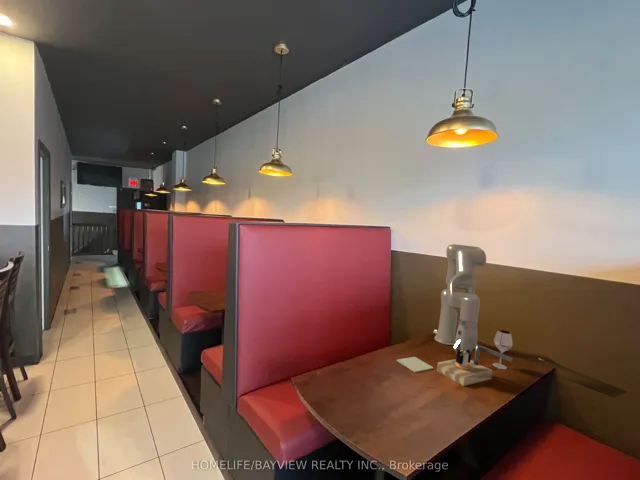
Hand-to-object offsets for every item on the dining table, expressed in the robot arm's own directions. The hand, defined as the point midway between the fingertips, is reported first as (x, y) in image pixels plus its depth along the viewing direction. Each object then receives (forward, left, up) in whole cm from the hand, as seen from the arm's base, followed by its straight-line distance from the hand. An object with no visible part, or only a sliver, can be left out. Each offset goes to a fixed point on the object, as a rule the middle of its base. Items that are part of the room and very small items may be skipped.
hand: (462, 362), depth 141 cm
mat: (-15, -14, -6) cm, 21 cm away
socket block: (0, +2, -6) cm, 7 cm away
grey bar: (+7, +11, -2) cm, 13 cm away
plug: (0, 0, -6) cm, 6 cm away
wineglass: (0, +30, -7) cm, 31 cm away
